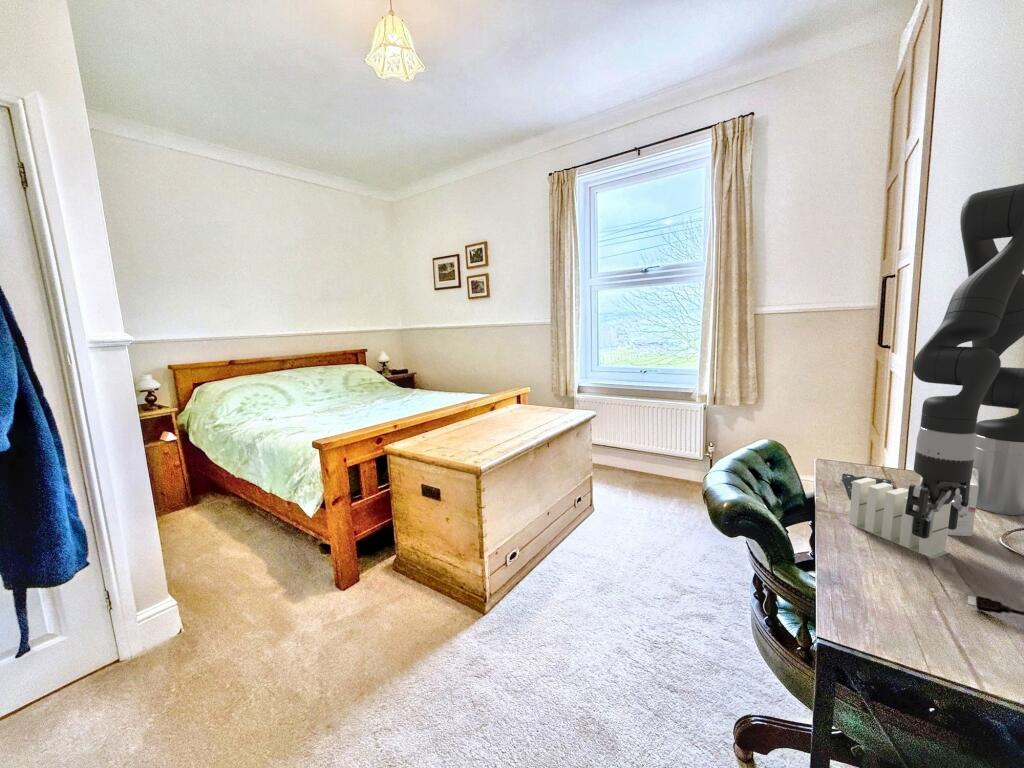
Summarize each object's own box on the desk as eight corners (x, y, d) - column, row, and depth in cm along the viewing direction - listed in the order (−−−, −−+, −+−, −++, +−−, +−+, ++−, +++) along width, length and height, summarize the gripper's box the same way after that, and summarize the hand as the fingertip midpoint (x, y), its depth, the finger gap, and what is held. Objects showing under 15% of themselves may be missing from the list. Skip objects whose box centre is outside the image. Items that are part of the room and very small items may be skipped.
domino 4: (915, 538, 83) (920, 493, 82) (925, 542, 82) (930, 496, 80) (899, 544, 82) (904, 497, 80) (909, 548, 80) (914, 501, 79)
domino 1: (864, 518, 92) (868, 477, 90) (872, 522, 90) (876, 480, 89) (848, 523, 90) (852, 481, 89) (857, 526, 89) (860, 483, 87)
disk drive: (840, 482, 114) (849, 502, 101) (841, 473, 113) (849, 492, 101) (889, 489, 108) (905, 511, 96) (890, 479, 108) (906, 500, 96)
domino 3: (896, 531, 86) (901, 487, 85) (906, 535, 85) (911, 490, 83) (881, 536, 85) (885, 491, 83) (890, 540, 83) (895, 494, 81)
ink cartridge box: (913, 517, 92) (920, 456, 90) (939, 518, 91) (947, 456, 89) (944, 536, 84) (953, 470, 82) (973, 538, 83) (983, 470, 81)
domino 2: (879, 525, 89) (884, 482, 87) (888, 528, 87) (893, 485, 86) (864, 529, 87) (868, 486, 86) (873, 533, 86) (877, 489, 84)
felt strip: (862, 519, 92) (862, 517, 92) (949, 554, 78) (949, 552, 78) (846, 524, 91) (846, 522, 91) (932, 560, 77) (932, 558, 77)
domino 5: (934, 546, 80) (940, 499, 79) (945, 550, 79) (951, 502, 77) (918, 551, 79) (924, 504, 77) (929, 556, 77) (935, 507, 76)
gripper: (946, 464, 70) (936, 550, 72) (994, 452, 74) (983, 534, 77) (894, 451, 77) (886, 530, 80) (941, 441, 81) (932, 516, 84)
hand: (934, 532), depth 78 cm, fingers open, 8 cm apart
